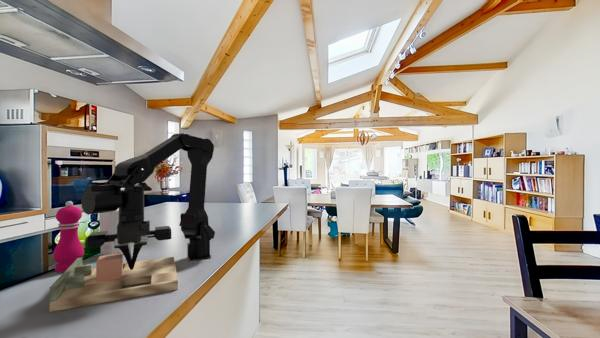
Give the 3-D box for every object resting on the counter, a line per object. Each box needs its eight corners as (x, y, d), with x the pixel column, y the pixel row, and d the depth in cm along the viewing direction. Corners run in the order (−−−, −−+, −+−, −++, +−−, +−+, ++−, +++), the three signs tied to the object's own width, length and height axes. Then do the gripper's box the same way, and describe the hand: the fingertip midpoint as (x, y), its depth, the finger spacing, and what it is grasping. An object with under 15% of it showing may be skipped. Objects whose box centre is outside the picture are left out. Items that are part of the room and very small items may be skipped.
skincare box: (130, 253, 99) (131, 209, 99) (110, 258, 93) (110, 211, 93) (119, 249, 103) (119, 207, 103) (98, 254, 98) (98, 209, 98)
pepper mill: (58, 274, 78) (58, 203, 78) (48, 270, 82) (49, 201, 82) (88, 267, 84) (88, 200, 84) (78, 263, 88) (78, 199, 88)
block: (123, 272, 74) (122, 253, 74) (120, 278, 70) (120, 258, 70) (100, 275, 72) (99, 255, 72) (96, 282, 67) (96, 261, 67)
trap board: (173, 263, 87) (173, 247, 87) (177, 289, 68) (177, 268, 68) (77, 276, 77) (77, 258, 77) (49, 311, 57) (49, 287, 57)
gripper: (79, 216, 62) (79, 287, 61) (172, 210, 70) (172, 272, 70) (90, 210, 72) (90, 271, 71) (170, 205, 80) (170, 260, 80)
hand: (131, 269), depth 73 cm, fingers closed
